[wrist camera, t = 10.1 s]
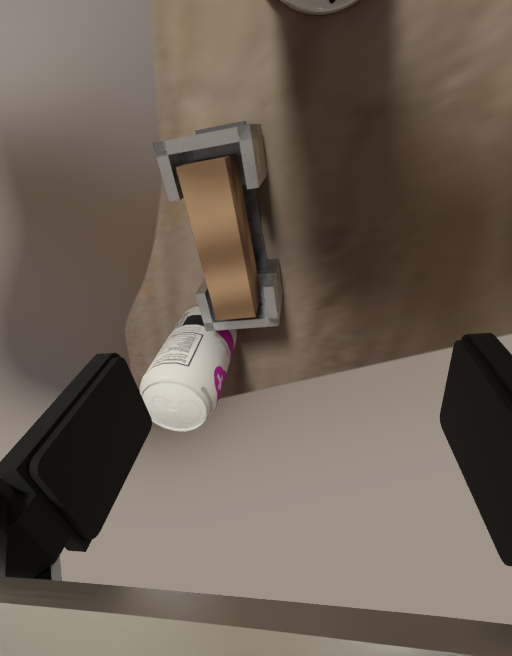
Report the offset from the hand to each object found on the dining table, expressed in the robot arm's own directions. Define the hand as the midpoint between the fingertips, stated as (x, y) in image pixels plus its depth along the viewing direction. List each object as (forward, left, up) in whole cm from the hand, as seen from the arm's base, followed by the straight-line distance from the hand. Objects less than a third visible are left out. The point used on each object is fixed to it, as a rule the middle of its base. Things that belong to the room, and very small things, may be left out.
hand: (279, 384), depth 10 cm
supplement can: (+16, -14, -30) cm, 37 cm away
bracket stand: (+2, -7, -30) cm, 31 cm away
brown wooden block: (+2, -7, -25) cm, 26 cm away
